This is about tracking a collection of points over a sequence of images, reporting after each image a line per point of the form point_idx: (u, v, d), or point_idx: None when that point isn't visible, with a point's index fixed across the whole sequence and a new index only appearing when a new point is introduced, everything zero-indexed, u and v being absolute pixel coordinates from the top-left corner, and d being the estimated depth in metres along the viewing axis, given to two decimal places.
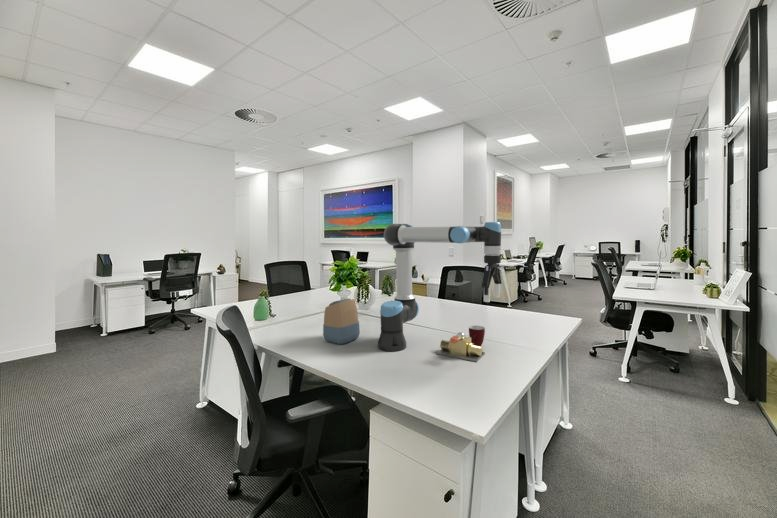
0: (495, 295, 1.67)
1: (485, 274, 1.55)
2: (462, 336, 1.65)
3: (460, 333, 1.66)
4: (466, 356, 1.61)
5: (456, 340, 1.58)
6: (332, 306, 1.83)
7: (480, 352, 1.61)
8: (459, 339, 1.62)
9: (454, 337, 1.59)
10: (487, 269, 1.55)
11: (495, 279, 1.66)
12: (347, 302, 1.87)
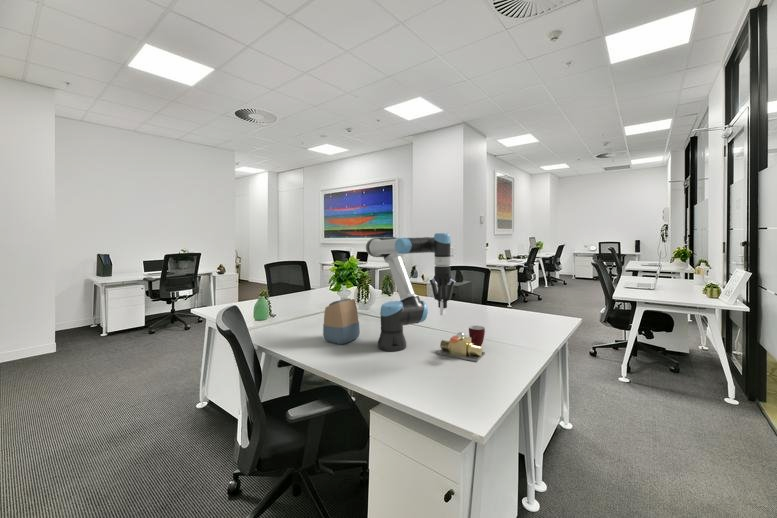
0: None
1: None
2: (462, 336, 1.65)
3: (460, 333, 1.66)
4: (466, 356, 1.61)
5: (456, 340, 1.58)
6: (332, 306, 1.83)
7: (480, 352, 1.61)
8: (459, 339, 1.62)
9: (454, 337, 1.59)
10: None
11: None
12: (347, 302, 1.87)
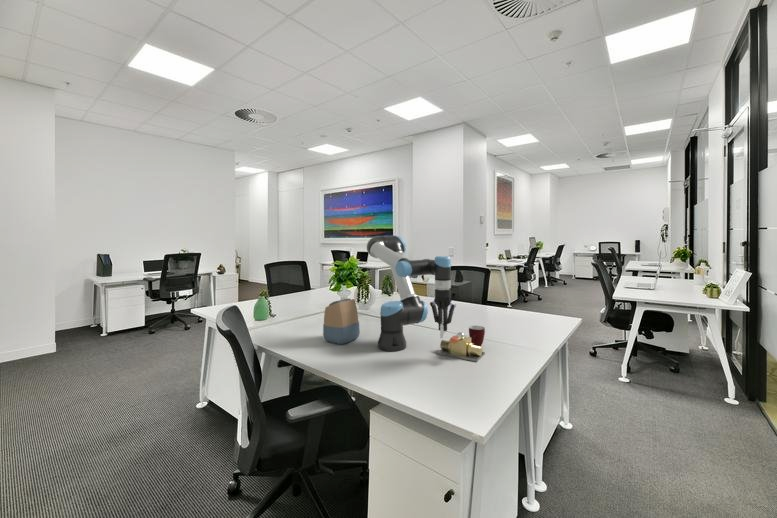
0: None
1: None
2: (462, 336, 1.65)
3: (460, 333, 1.66)
4: (466, 356, 1.61)
5: (456, 340, 1.58)
6: (332, 306, 1.83)
7: (480, 352, 1.61)
8: (459, 339, 1.62)
9: (454, 337, 1.59)
10: None
11: None
12: (347, 302, 1.87)
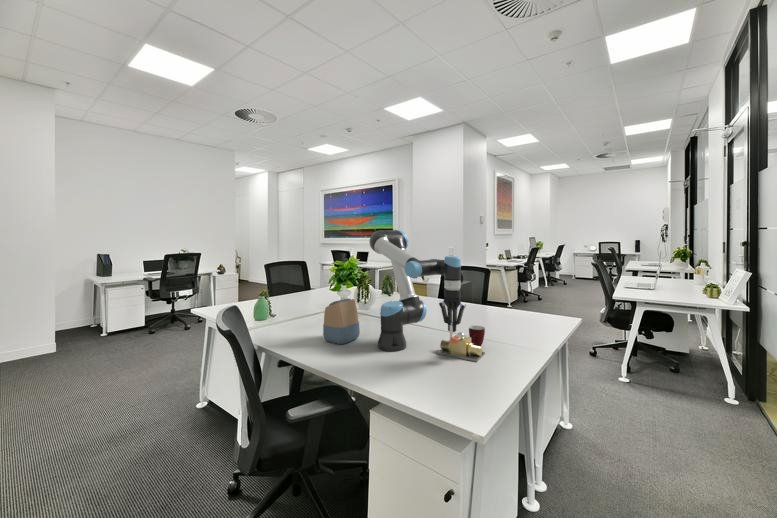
0: None
1: None
2: (462, 336, 1.65)
3: (460, 333, 1.66)
4: (466, 356, 1.61)
5: (456, 340, 1.58)
6: (332, 306, 1.83)
7: (480, 352, 1.61)
8: (459, 339, 1.62)
9: (454, 337, 1.59)
10: None
11: None
12: (347, 302, 1.87)
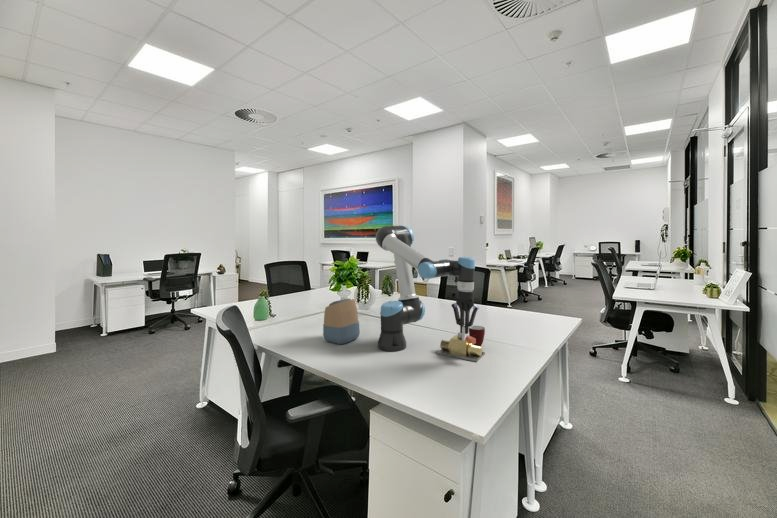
0: None
1: None
2: None
3: (461, 333, 1.66)
4: (466, 356, 1.61)
5: None
6: (332, 306, 1.83)
7: (480, 352, 1.61)
8: None
9: (471, 337, 1.59)
10: None
11: None
12: (347, 302, 1.87)
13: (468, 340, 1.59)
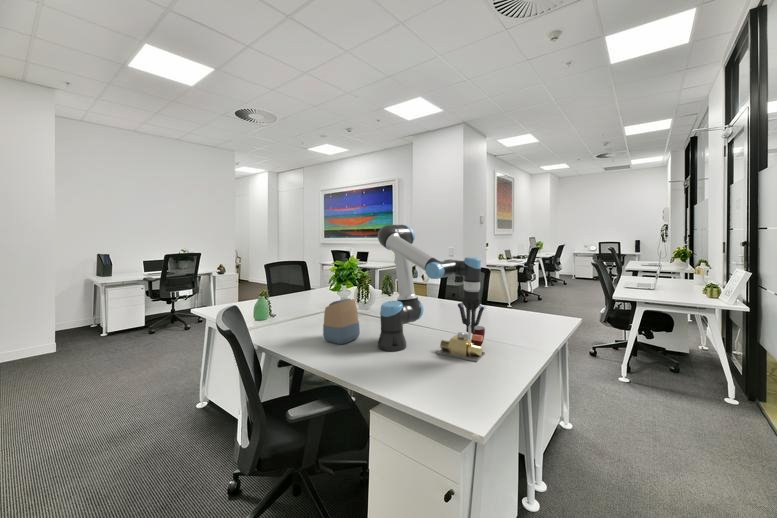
0: None
1: None
2: None
3: (461, 333, 1.66)
4: (466, 356, 1.61)
5: None
6: (332, 306, 1.83)
7: (480, 352, 1.61)
8: None
9: (477, 335, 1.62)
10: None
11: None
12: (347, 302, 1.87)
13: (476, 338, 1.61)
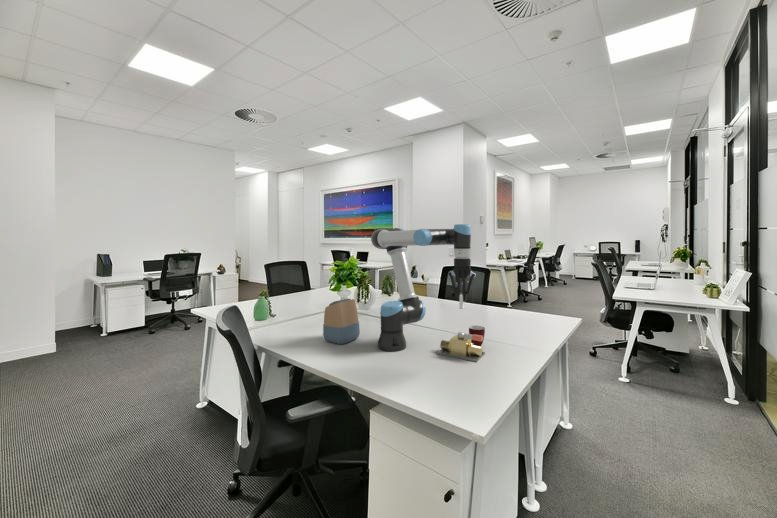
0: None
1: None
2: None
3: (461, 333, 1.66)
4: (466, 356, 1.61)
5: None
6: (332, 306, 1.83)
7: (480, 352, 1.61)
8: None
9: (477, 335, 1.62)
10: None
11: None
12: (347, 302, 1.87)
13: (476, 338, 1.61)
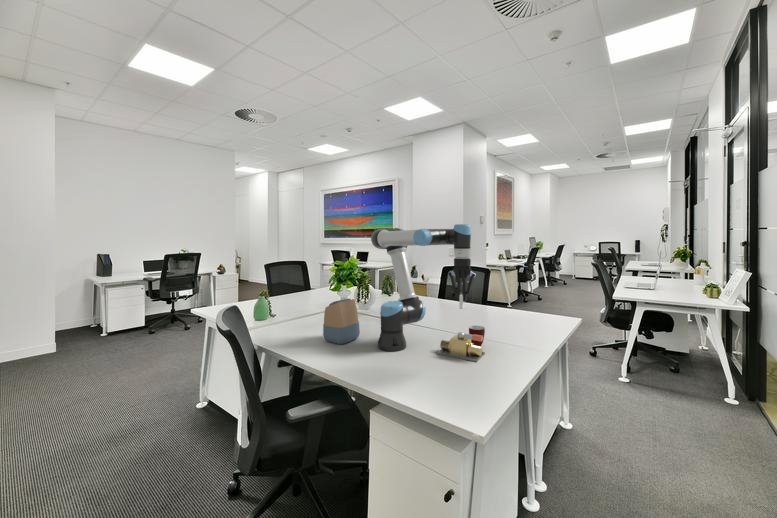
0: None
1: None
2: None
3: (461, 333, 1.66)
4: (466, 356, 1.61)
5: None
6: (332, 306, 1.83)
7: (480, 352, 1.61)
8: None
9: (477, 335, 1.62)
10: None
11: None
12: (347, 302, 1.87)
13: (476, 338, 1.61)
